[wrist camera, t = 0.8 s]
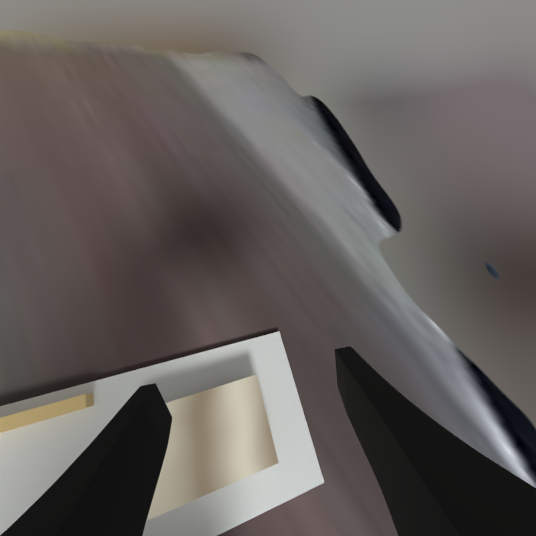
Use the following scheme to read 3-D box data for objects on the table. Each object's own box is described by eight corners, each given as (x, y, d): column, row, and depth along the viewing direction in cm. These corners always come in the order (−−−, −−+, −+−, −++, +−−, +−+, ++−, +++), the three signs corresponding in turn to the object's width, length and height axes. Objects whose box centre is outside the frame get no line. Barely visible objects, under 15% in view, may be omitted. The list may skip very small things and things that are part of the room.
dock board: (322, 480, 23) (331, 488, 21) (-193, 733, 13) (-255, 786, 12) (278, 332, 28) (282, 328, 26) (-121, 439, 18) (-157, 445, 17)
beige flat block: (252, 375, 25) (256, 374, 23) (272, 455, 23) (278, 462, 20) (145, 408, 22) (138, 411, 20) (154, 505, 20) (147, 520, 17)
